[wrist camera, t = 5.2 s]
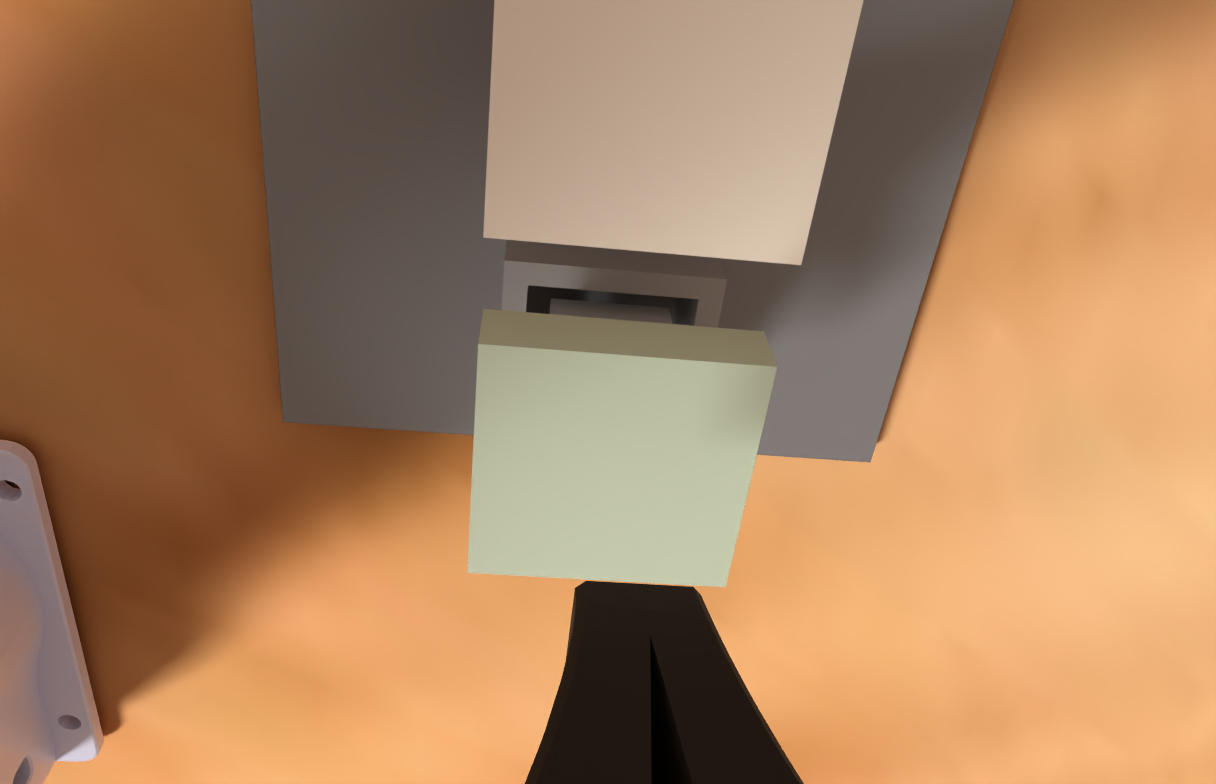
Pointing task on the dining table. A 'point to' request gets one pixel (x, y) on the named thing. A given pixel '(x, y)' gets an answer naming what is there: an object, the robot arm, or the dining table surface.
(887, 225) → the keypad base
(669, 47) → the key cream
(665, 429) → the key sage
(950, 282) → the dining table surface
